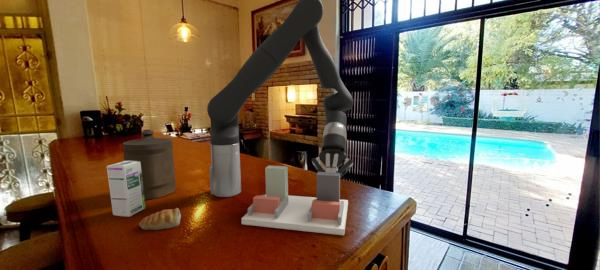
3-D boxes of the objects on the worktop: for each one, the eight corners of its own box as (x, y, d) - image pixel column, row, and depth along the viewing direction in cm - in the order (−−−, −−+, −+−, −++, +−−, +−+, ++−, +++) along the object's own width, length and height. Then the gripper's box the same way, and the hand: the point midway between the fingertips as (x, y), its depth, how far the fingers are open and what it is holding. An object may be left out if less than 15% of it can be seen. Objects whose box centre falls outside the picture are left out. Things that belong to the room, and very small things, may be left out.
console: (241, 224, 66) (240, 203, 65) (266, 198, 83) (266, 181, 83) (344, 235, 60) (344, 213, 59) (348, 204, 77) (348, 187, 77)
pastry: (137, 235, 62) (135, 220, 61) (142, 223, 68) (140, 209, 67) (180, 227, 65) (179, 213, 65) (181, 216, 71) (180, 203, 71)
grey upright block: (316, 210, 70) (316, 174, 69) (318, 205, 73) (318, 171, 72) (338, 212, 69) (339, 176, 67) (339, 207, 72) (340, 172, 70)
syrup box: (129, 217, 71) (124, 165, 69) (111, 215, 72) (106, 164, 70) (146, 208, 76) (141, 160, 74) (129, 207, 77) (124, 160, 75)
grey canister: (176, 183, 100) (171, 126, 97) (176, 195, 86) (171, 130, 83) (130, 189, 93) (124, 128, 90) (123, 203, 80) (115, 133, 77)
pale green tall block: (266, 200, 77) (265, 168, 76) (269, 196, 80) (268, 165, 79) (285, 202, 76) (284, 169, 75) (288, 198, 79) (287, 166, 77)
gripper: (312, 132, 82) (304, 181, 71) (355, 132, 78) (353, 184, 68) (315, 145, 87) (308, 192, 77) (355, 146, 84) (353, 196, 74)
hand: (329, 188), depth 73 cm, fingers closed
